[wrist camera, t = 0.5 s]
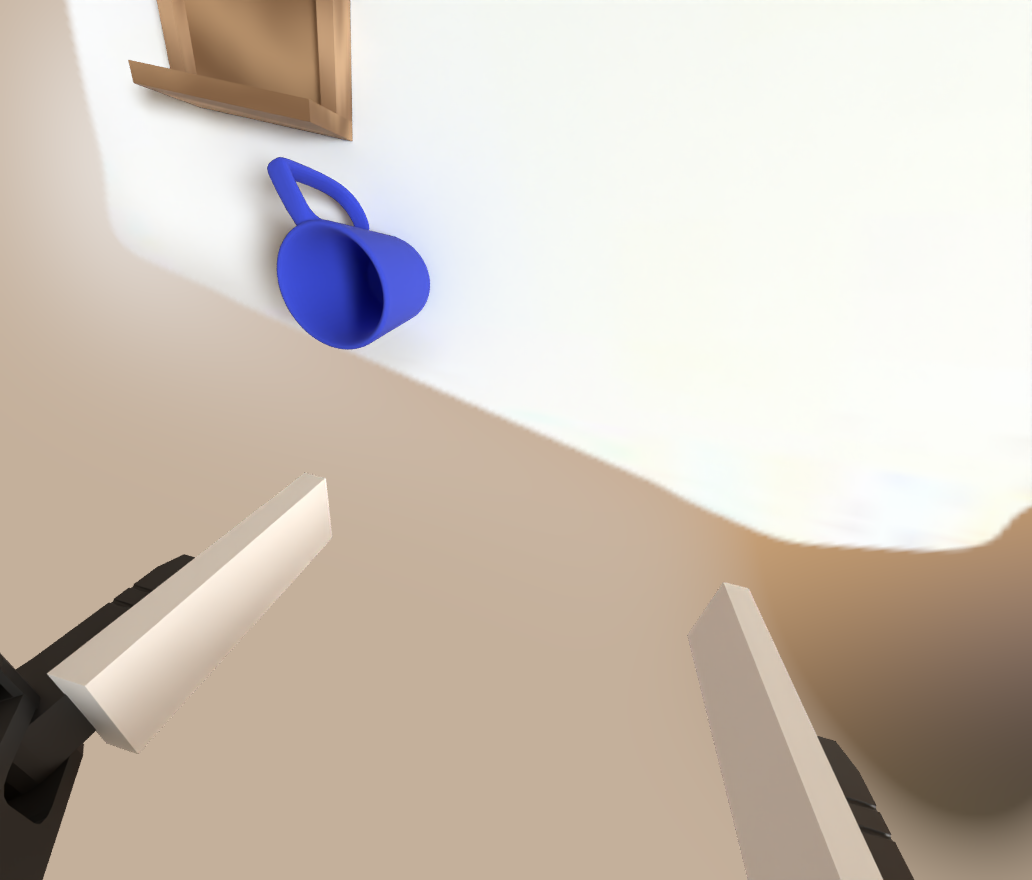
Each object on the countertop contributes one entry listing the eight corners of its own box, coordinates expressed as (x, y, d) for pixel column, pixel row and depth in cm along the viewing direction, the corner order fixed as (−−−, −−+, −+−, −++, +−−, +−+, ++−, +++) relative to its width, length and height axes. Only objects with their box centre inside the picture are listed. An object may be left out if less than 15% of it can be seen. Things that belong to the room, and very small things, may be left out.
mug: (393, 158, 29) (308, 119, 20) (456, 307, 34) (408, 327, 25) (317, 204, 32) (213, 187, 23) (385, 337, 36) (320, 364, 28)
